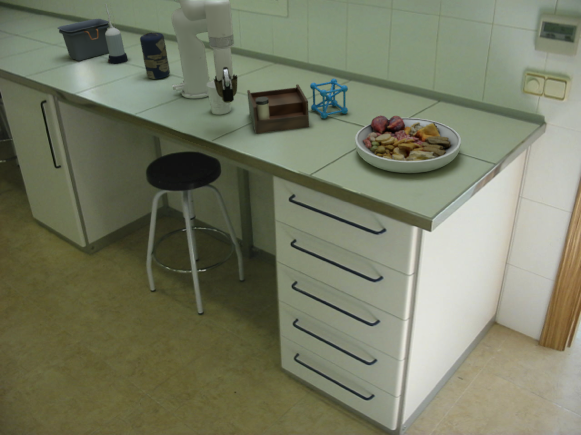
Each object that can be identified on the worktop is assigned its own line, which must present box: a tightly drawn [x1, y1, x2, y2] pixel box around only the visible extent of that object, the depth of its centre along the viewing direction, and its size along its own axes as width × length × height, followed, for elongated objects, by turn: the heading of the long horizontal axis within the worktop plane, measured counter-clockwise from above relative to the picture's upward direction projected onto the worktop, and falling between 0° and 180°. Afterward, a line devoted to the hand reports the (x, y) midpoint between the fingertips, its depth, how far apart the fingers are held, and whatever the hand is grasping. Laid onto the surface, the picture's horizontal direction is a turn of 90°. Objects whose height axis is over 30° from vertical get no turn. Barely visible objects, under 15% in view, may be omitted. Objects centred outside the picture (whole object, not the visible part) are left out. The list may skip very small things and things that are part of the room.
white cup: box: [207, 80, 232, 115], centre depth 207 cm, size 8×8×10 cm
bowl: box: [354, 115, 462, 174], centre depth 172 cm, size 30×30×8 cm
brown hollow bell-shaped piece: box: [213, 73, 238, 103], centre depth 188 cm, size 8×7×8 cm
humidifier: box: [104, 2, 129, 65], centre depth 260 cm, size 8×8×25 cm
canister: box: [139, 32, 171, 80], centre depth 241 cm, size 10×10×18 cm
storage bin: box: [57, 18, 110, 62], centre depth 272 cm, size 21×16×14 cm
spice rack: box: [246, 83, 310, 135], centre depth 197 cm, size 18×16×9 cm
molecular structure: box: [309, 78, 349, 120], centre depth 201 cm, size 10×10×10 cm
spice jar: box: [255, 97, 270, 121], centre depth 191 cm, size 4×4×7 cm
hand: (227, 95), depth 189 cm, fingers closed on brown hollow bell-shaped piece, 7 cm apart
